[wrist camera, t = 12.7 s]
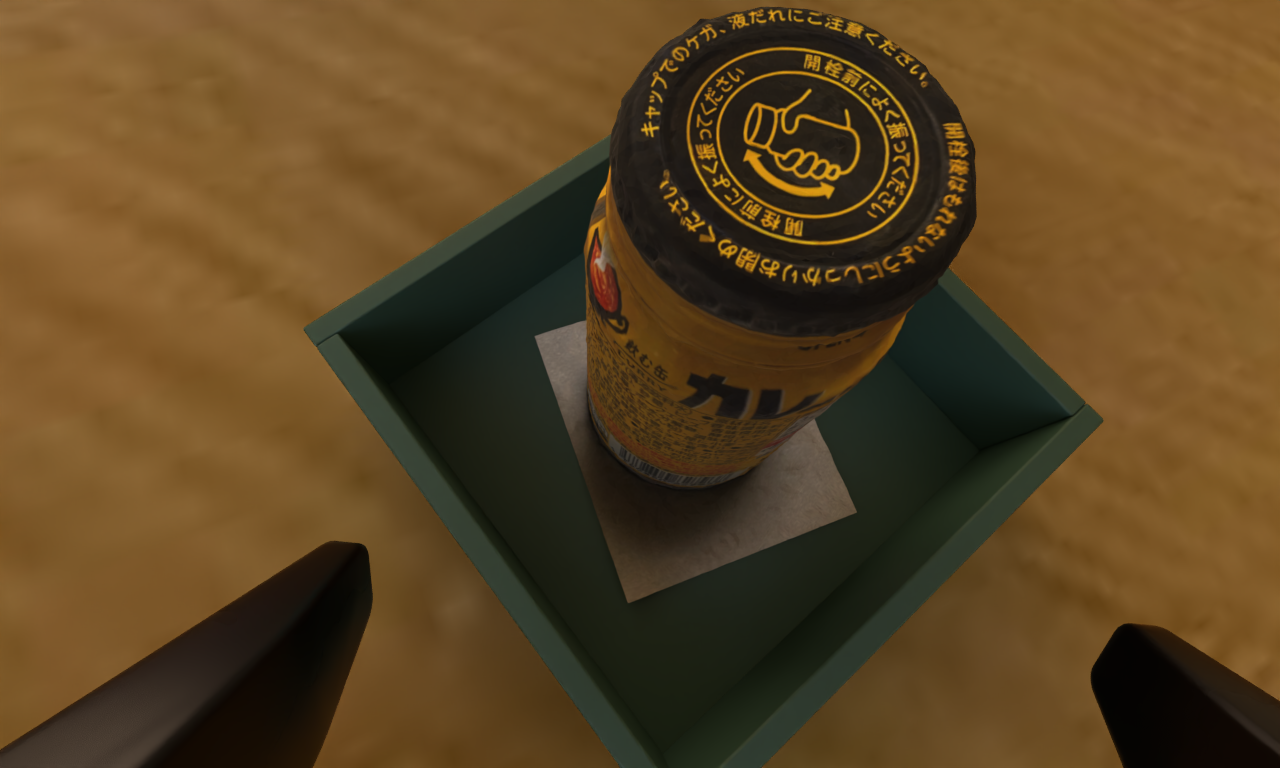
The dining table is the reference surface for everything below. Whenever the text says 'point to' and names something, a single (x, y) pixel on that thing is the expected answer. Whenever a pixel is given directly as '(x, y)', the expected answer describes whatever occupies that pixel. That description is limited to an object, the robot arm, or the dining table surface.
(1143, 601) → the dining table surface
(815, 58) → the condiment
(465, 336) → the square tray
